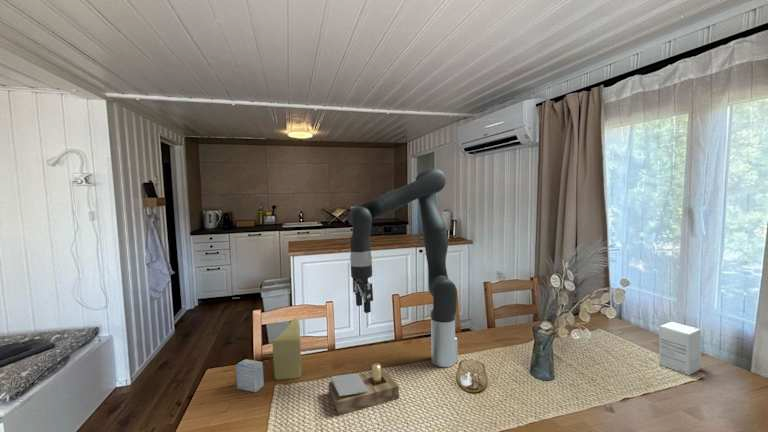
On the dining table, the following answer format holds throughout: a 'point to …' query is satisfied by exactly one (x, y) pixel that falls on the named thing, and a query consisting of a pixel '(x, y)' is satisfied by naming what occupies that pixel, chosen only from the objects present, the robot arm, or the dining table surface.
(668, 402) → the dining table surface
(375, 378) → the brass peg
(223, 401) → the dining table surface
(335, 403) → the walnut block
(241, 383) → the medicine box
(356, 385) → the steel flap
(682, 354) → the supplement box
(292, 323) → the cheese
